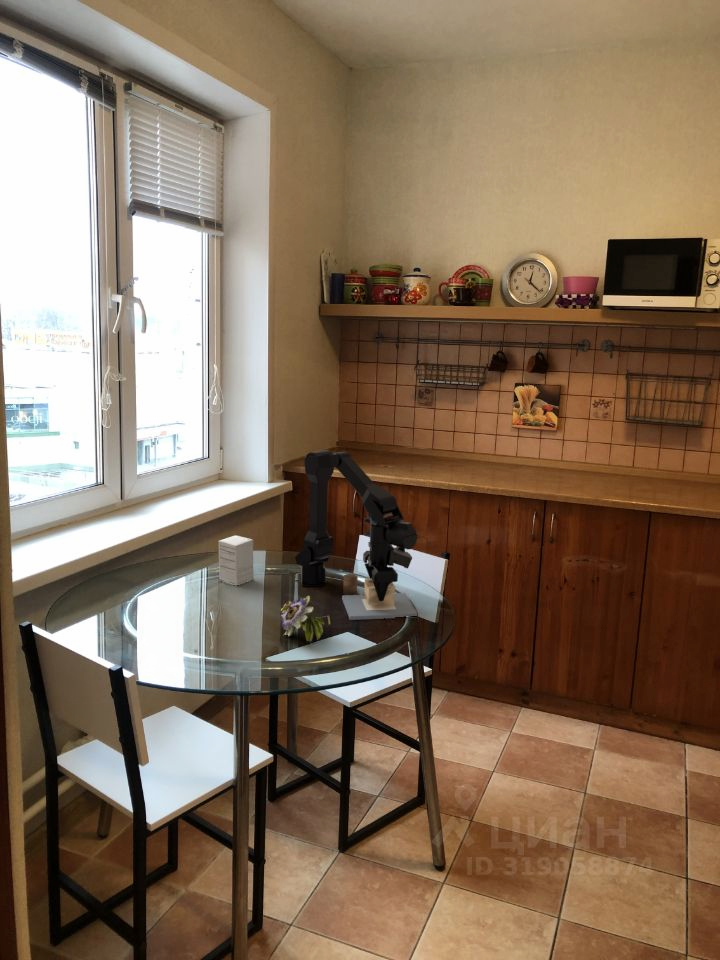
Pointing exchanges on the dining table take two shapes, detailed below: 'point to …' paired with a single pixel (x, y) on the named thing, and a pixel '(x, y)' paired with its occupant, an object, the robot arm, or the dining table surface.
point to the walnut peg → (350, 584)
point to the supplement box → (236, 559)
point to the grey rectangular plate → (377, 607)
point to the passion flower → (301, 618)
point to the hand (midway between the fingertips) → (378, 595)
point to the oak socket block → (372, 595)
